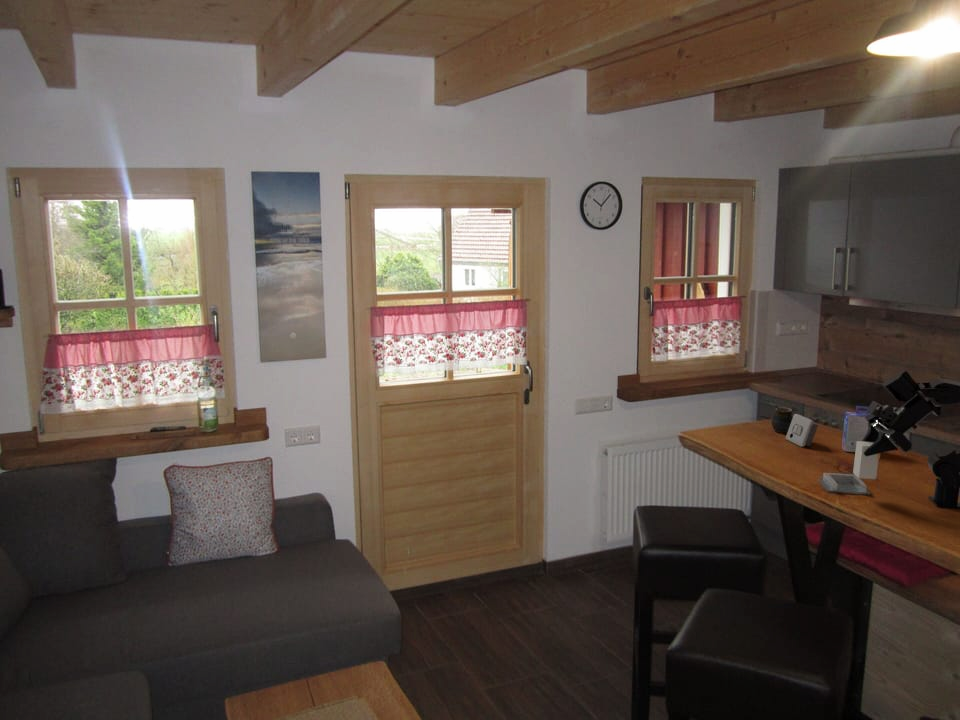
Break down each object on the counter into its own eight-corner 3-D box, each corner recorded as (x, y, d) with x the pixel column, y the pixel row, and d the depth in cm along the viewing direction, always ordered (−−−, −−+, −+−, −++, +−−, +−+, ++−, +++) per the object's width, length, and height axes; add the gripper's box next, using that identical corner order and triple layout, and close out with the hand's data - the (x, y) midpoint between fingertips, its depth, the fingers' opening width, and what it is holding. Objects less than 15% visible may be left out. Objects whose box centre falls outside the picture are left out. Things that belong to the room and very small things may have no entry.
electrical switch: (784, 439, 266) (789, 413, 265) (798, 440, 267) (803, 413, 266) (801, 448, 257) (807, 420, 256) (815, 448, 258) (820, 421, 257)
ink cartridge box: (872, 449, 257) (878, 406, 254) (877, 454, 252) (883, 410, 249) (840, 446, 259) (845, 404, 256) (844, 452, 254) (849, 408, 251)
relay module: (877, 479, 211) (881, 447, 209) (858, 478, 211) (862, 446, 210) (870, 473, 215) (874, 441, 213) (853, 472, 216) (856, 441, 214)
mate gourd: (797, 432, 275) (800, 404, 273) (783, 435, 271) (786, 407, 269) (780, 427, 281) (782, 400, 278) (766, 430, 277) (768, 403, 275)
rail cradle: (870, 495, 216) (871, 486, 215) (828, 492, 217) (828, 483, 217) (858, 482, 226) (859, 474, 225) (818, 479, 227) (818, 471, 227)
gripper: (876, 384, 217) (830, 421, 221) (904, 401, 199) (854, 441, 203) (903, 413, 218) (856, 449, 221) (933, 432, 200) (882, 471, 203)
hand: (861, 452), depth 212 cm, fingers closed on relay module, 4 cm apart
